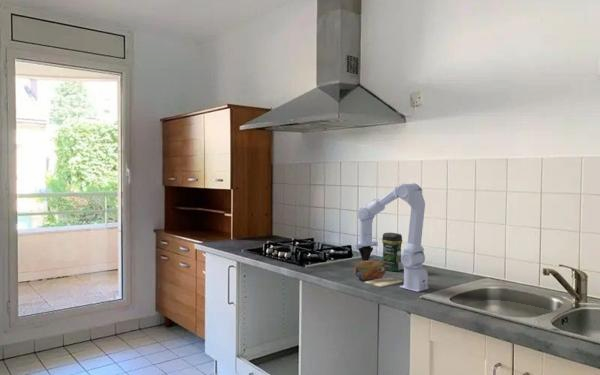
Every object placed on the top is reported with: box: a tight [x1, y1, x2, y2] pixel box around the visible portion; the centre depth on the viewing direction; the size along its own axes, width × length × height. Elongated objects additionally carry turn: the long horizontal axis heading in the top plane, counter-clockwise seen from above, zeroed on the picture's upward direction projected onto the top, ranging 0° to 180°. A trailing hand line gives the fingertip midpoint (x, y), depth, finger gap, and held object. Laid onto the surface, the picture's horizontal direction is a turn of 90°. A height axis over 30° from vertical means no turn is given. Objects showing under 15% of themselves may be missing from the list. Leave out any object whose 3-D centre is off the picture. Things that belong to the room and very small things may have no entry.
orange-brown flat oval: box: [353, 259, 387, 281], centre depth 199 cm, size 15×3×8 cm, turn 107°
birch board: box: [364, 276, 404, 288], centre depth 193 cm, size 10×15×1 cm, turn 129°
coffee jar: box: [381, 232, 403, 272], centre depth 218 cm, size 10×8×19 cm
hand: (365, 262), depth 201 cm, fingers closed
